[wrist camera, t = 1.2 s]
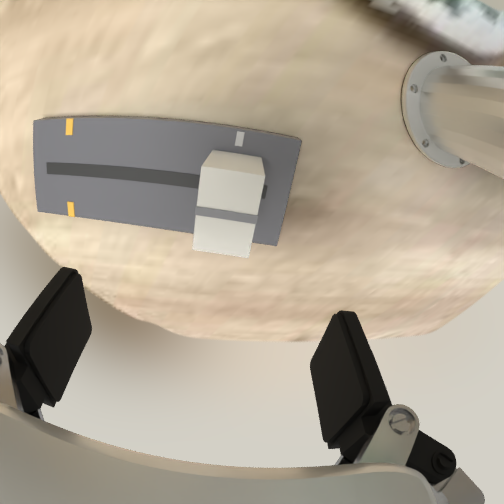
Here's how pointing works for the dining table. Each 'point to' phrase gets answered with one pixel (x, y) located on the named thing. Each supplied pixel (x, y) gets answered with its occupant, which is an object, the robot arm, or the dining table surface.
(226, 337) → the dining table surface
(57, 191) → the slider panel
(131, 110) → the dining table surface
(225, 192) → the fader tab
